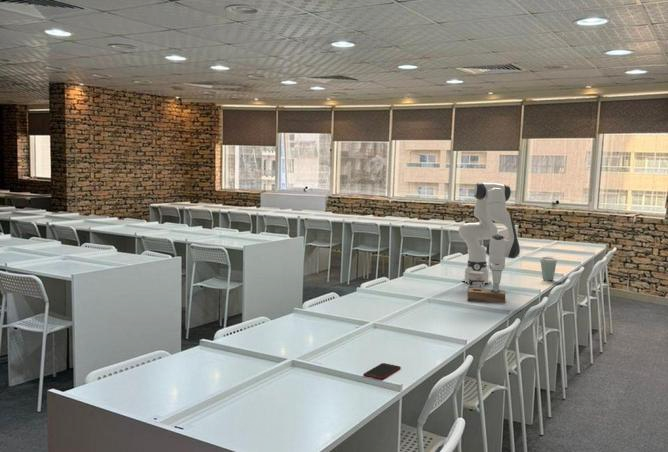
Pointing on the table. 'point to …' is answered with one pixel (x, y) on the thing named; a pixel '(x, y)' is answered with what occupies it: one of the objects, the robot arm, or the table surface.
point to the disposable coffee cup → (548, 267)
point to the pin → (493, 288)
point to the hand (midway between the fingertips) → (495, 289)
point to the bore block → (486, 295)
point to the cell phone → (382, 371)
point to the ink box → (476, 279)
